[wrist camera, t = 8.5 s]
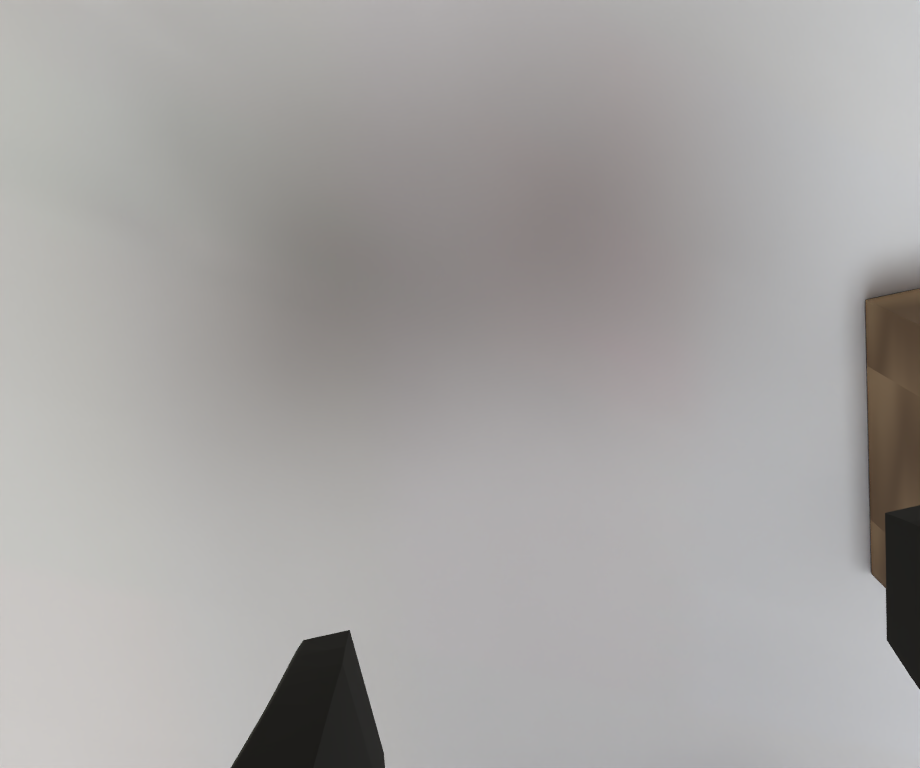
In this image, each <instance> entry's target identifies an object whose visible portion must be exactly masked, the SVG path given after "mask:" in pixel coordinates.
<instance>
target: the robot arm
mask: <svg viewBox="0 0 920 768" xmlns="http://www.w3.org/2000/svg"><path fill="white" fill-rule="evenodd" d="M885 549H886V614H887V641H888V642H889V644H890V646H891V647H892V649H893V650H894V652H895V653H896V655H897V656H898V658H899V659H900V661H901V662H902V664H903V665H904V667H905V669H906V670H907V672H908V673H909V675H910V676H911V678H912V679H913V680H914V682H915V683H916V685H917V686H918V688H919V689H920V505H918V506H914V507H909V508H905V509H900V510H896V511H891V512H886V513H885ZM231 768H385V763H384V752H383V749H382V745H381V742H380V738H379V734H378V731H377V727H376V724H375V720H374V716H373V713H372V709H371V706H370V702H369V698H368V695H367V691H366V688H365V684H364V680H363V677H362V673H361V669H360V666H359V662H358V659H357V655H356V651H355V648H354V644H353V641H352V637H351V633H350V630H348V631H343V632H339V633H334V634H330V635H325V636H321V637H316V638H311V639H307V640H303V642H302V643H301V645H300V646H299V648H298V649H297V651H296V653H295V654H294V656H293V658H292V660H291V662H290V664H289V666H288V668H287V670H286V672H285V673H284V675H283V677H282V679H281V681H280V683H279V685H278V687H277V689H276V690H275V692H274V694H273V696H272V698H271V700H270V701H269V703H268V705H267V707H266V709H265V710H264V712H263V714H262V716H261V718H260V719H259V721H258V723H257V724H256V726H255V728H254V730H253V731H252V733H251V735H250V736H249V738H248V740H247V741H246V743H245V745H244V746H243V748H242V750H241V752H240V753H239V755H238V757H237V758H236V760H235V762H234V763H233V765H232V767H231Z"/></svg>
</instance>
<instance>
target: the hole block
mask: <svg viewBox="0 0 920 768" xmlns="http://www.w3.org/2000/svg"><path fill="white" fill-rule="evenodd" d="M866 345H867V390H868V436H869V481H870V526H871V571H872V575H873V576H874V577H875V578H876V579H877V580H878V581H879V582H880V583H881V584H882V585H883V586H884V587H885V588H886V549H885V513H886V512H891V511H896V510H900V509H905V508H909V507H914V506H918V505H920V288H919V289H915V290H910V291H905V292H900V293H896V294H891V295H886V296H882V297H877V298H872V299H867V300H866Z"/></svg>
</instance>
